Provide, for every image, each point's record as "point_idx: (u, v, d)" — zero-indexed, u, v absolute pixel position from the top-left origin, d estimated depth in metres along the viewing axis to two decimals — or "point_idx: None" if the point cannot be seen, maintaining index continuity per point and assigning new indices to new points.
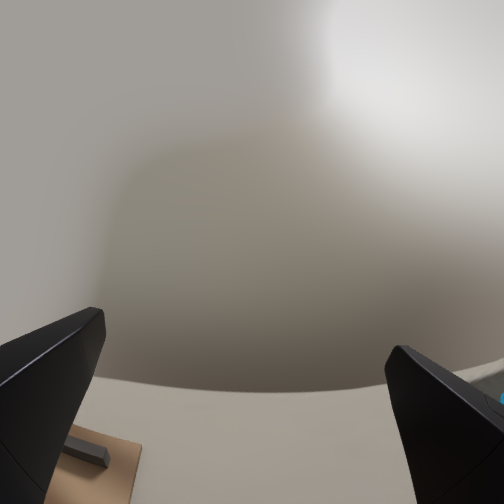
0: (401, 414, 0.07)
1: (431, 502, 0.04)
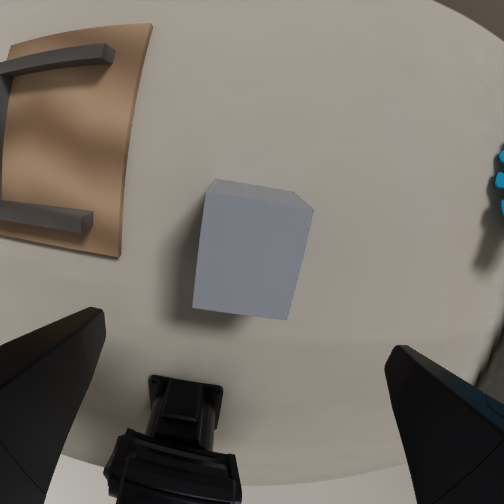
0: (401, 414, 0.07)
1: (431, 502, 0.04)
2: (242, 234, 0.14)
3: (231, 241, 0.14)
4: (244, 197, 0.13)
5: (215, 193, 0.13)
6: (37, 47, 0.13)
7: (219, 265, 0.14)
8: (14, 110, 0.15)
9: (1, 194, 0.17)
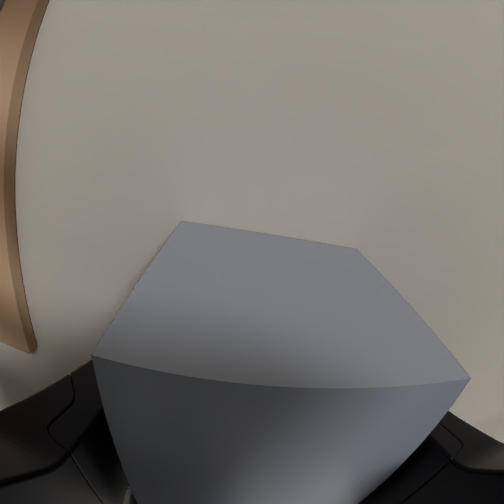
0: None
1: None
2: (243, 462, 0.03)
3: (212, 471, 0.04)
4: (252, 380, 0.03)
5: (129, 363, 0.03)
6: None
7: (185, 493, 0.04)
8: None
9: None
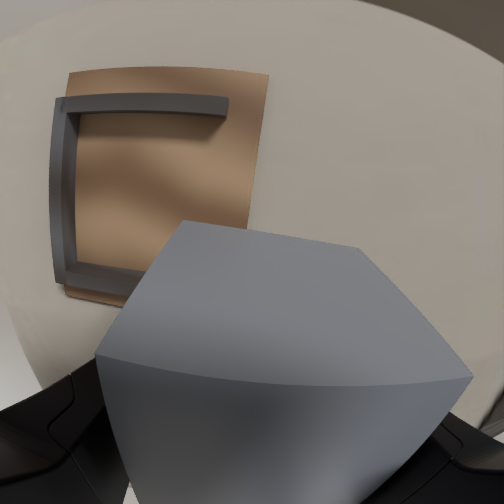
0: None
1: None
2: (247, 461, 0.03)
3: (214, 470, 0.04)
4: (257, 378, 0.03)
5: (133, 362, 0.03)
6: (112, 81, 0.14)
7: (188, 493, 0.04)
8: (88, 158, 0.16)
9: (76, 255, 0.18)
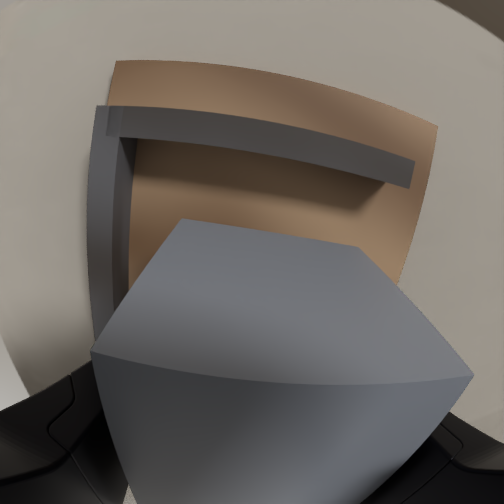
0: None
1: None
2: (244, 460, 0.03)
3: (212, 469, 0.04)
4: (254, 376, 0.03)
5: (128, 359, 0.03)
6: (201, 85, 0.09)
7: (186, 493, 0.04)
8: (153, 215, 0.11)
9: None
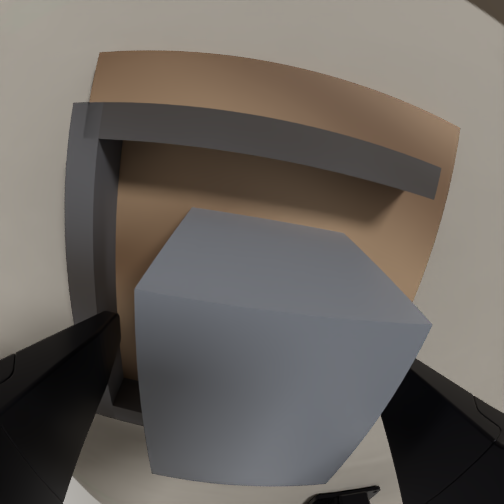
0: (388, 415, 0.07)
1: None
2: (246, 391, 0.05)
3: (219, 403, 0.05)
4: (253, 306, 0.04)
5: (163, 294, 0.04)
6: (195, 78, 0.08)
7: (194, 435, 0.05)
8: (141, 228, 0.09)
9: (122, 371, 0.11)
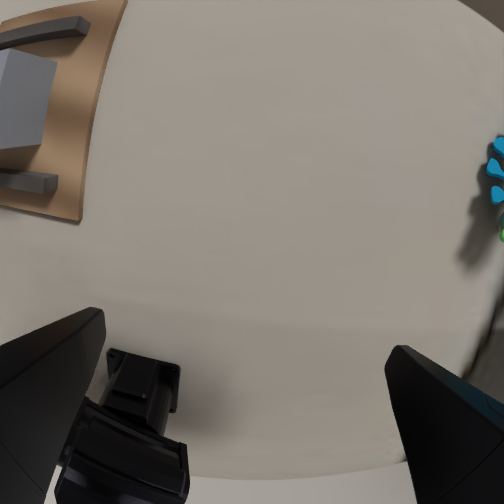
0: (401, 414, 0.07)
1: (431, 502, 0.04)
2: None
3: None
4: None
5: None
6: (23, 23, 0.12)
7: None
8: None
9: None
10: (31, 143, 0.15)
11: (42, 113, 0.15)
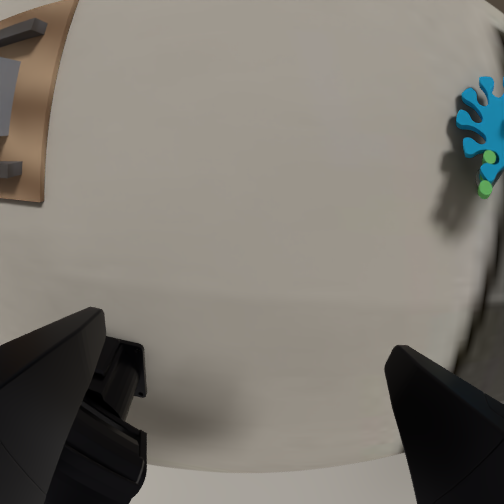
0: (401, 414, 0.07)
1: (431, 502, 0.04)
2: None
3: None
4: None
5: None
6: None
7: None
8: None
9: None
10: None
11: (8, 107, 0.14)
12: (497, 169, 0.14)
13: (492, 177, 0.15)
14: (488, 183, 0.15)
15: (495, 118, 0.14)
